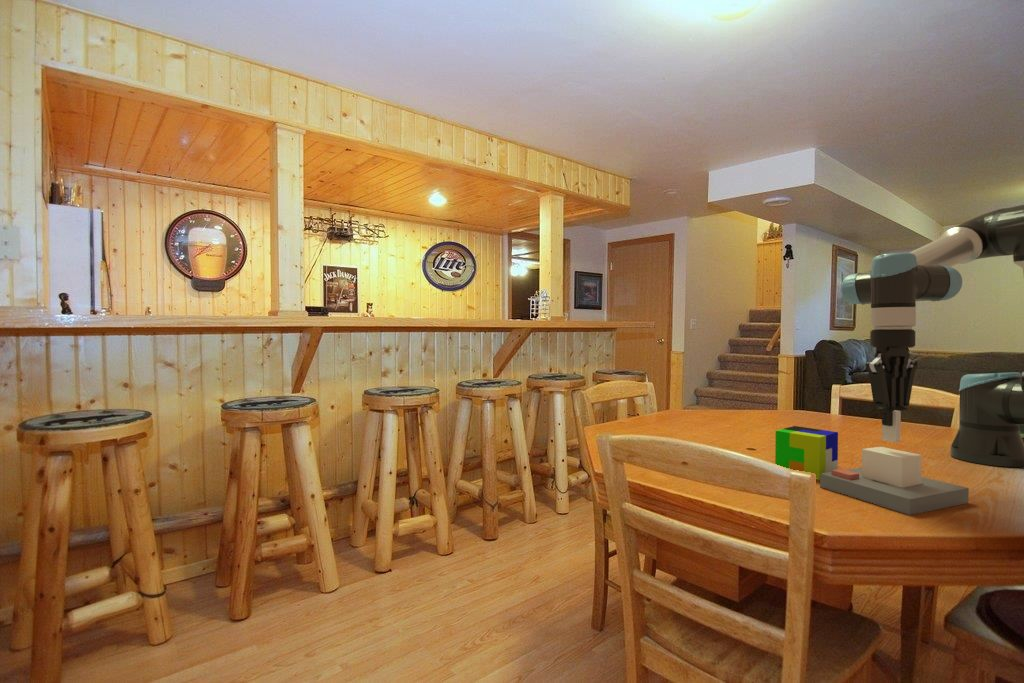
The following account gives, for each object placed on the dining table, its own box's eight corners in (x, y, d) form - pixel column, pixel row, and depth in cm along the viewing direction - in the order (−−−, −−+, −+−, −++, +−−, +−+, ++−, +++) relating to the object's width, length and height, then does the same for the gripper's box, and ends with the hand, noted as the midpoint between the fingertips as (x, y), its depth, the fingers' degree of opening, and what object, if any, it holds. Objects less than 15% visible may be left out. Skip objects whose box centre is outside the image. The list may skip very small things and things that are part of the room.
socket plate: (875, 478, 117) (875, 461, 117) (968, 502, 100) (968, 483, 100) (820, 487, 110) (820, 469, 110) (909, 515, 94) (909, 493, 94)
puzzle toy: (837, 473, 121) (838, 432, 121) (819, 480, 116) (819, 437, 115) (794, 464, 129) (794, 425, 129) (775, 471, 124) (775, 430, 123)
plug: (880, 487, 110) (880, 446, 110) (920, 498, 103) (921, 455, 102) (861, 490, 108) (861, 449, 108) (901, 502, 100) (902, 457, 100)
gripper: (894, 328, 110) (892, 435, 111) (852, 328, 106) (851, 439, 106) (932, 328, 103) (931, 442, 104) (890, 328, 99) (889, 447, 99)
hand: (891, 440), depth 105 cm, fingers closed
